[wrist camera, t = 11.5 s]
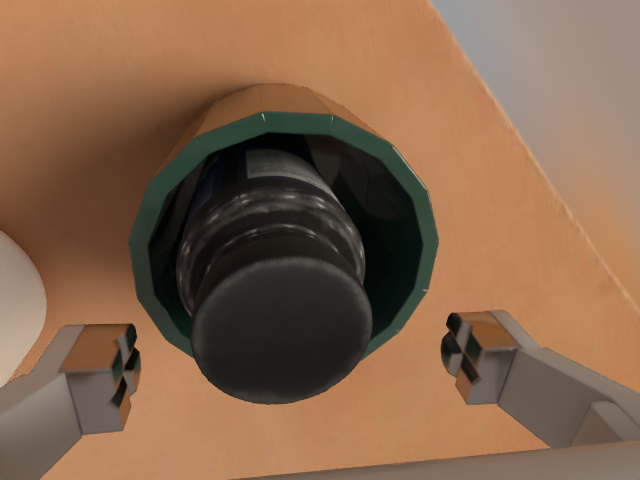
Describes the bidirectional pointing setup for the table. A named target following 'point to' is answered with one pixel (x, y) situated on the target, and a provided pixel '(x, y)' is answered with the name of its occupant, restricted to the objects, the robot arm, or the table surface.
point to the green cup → (339, 173)
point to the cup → (18, 306)
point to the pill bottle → (272, 276)
